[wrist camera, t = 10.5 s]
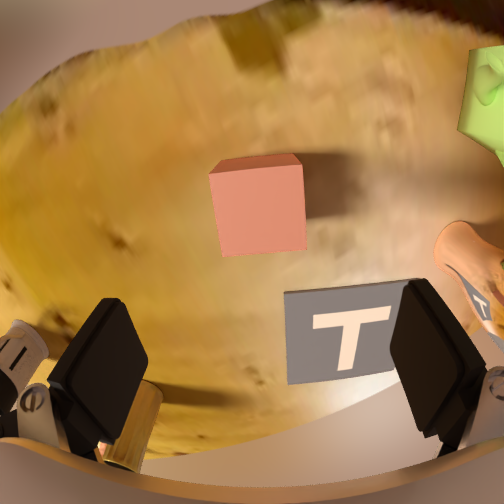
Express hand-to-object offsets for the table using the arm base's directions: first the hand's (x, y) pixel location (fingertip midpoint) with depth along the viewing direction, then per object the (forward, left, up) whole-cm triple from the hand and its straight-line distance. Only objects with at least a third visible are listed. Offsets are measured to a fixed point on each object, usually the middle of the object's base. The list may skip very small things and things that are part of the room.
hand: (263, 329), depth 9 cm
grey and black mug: (+39, +17, -17) cm, 46 cm away
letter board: (-9, +18, -17) cm, 26 cm away
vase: (+20, +28, -17) cm, 39 cm away
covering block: (0, 0, -17) cm, 17 cm away
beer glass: (-21, +7, -17) cm, 28 cm away
